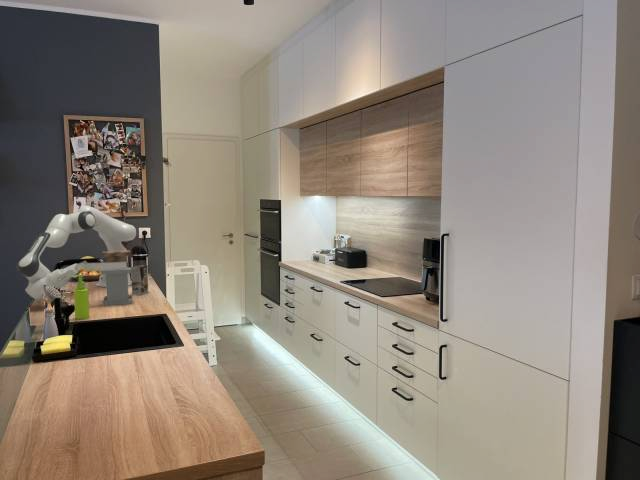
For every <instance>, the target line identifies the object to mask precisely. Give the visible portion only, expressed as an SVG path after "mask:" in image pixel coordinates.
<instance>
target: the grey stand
mask: <svg viewBox="0 0 640 480" xmlns="http://www.w3.org/2000/svg"><path fill="white" fill-rule="evenodd" d="M128 273H130V274H131V267H129V268H127V269H121V270H101V274H100V275H106V287H105V288H106V296H107V300H104V299H103V300H102V306H103V307H109V306H120V305H123V306H124V305H133V297H132V298H128V295H129V286H128V284H127V274H128Z"/></svg>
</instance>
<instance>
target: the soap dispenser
mask: <svg viewBox="0 0 640 480" xmlns="http://www.w3.org/2000/svg"><path fill="white" fill-rule="evenodd" d="M83 277H85V274H76V275H74V276H72V277H71V278H74V279H77V278H78V280H77V282H76V288H75V289H74V290H73V297H74V298H73V300H74V301H73V302H74V318H75V319H76V320H84V319H85V320H86V319H88V318H90V303H89V302H90V301H89V300H90V299H89V298H90V297H89V288H86V282H85V281H83V279H84V278H83Z"/></svg>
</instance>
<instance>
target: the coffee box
mask: <svg viewBox="0 0 640 480" xmlns="http://www.w3.org/2000/svg"><path fill="white" fill-rule="evenodd" d="M148 267H149V266H148V264H139V265H138V264H136V265H133V266H131V267H130V268H131V273H130V274H131V282H132V283H131V284H132V285H131V294H132V296H144V295H145V294H147V293H149V274H148V273H149V272H148V271H149V268H148Z"/></svg>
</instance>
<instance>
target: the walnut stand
mask: <svg viewBox="0 0 640 480" xmlns="http://www.w3.org/2000/svg"><path fill="white" fill-rule="evenodd" d="M131 253H132V252H131V250H130V249H129V250H127V251H108V250H106V251H104V250H103V251H102V252H101V257H102V258H105V259H106V262H124V261H126V265H127V256H128V257H130V256H131ZM127 284H128V274H127ZM128 298H132V299H133V295H132V293H131V294H128ZM103 300H107V295H106V296H105V295H104V297H103Z"/></svg>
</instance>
